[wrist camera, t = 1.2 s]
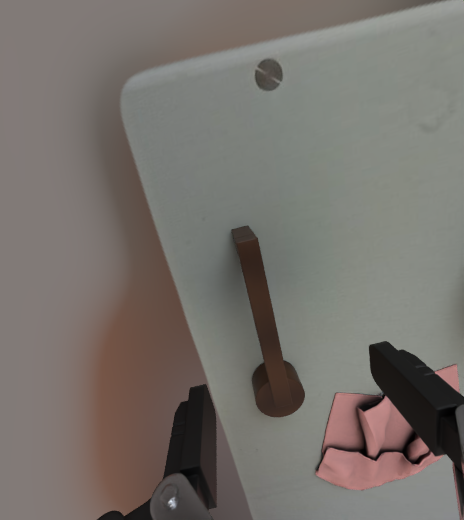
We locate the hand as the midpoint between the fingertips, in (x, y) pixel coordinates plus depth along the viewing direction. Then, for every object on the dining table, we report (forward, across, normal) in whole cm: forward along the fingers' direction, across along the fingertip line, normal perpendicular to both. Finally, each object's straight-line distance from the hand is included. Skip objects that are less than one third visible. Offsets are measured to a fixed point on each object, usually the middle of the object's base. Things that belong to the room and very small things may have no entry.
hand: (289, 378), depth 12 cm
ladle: (+13, 0, +5) cm, 14 cm away
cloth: (+14, -14, +26) cm, 32 cm away
